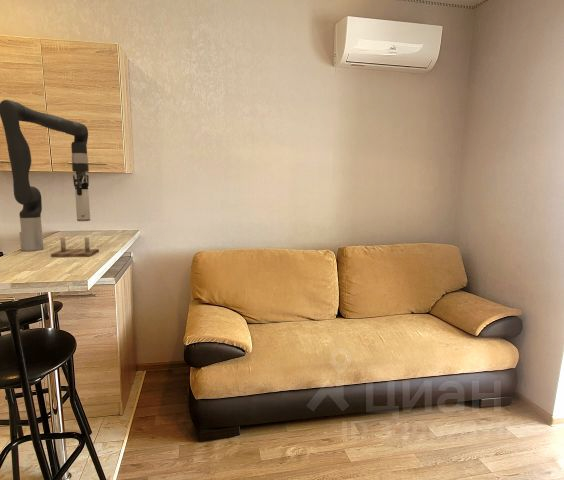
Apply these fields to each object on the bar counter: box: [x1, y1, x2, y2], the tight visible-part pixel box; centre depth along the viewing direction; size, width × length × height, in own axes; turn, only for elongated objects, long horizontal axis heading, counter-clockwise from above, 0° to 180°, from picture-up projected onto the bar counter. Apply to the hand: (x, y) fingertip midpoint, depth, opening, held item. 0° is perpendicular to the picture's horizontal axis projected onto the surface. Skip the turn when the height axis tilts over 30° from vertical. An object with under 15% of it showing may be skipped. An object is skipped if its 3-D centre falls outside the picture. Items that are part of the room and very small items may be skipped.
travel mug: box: [74, 183, 91, 222], centre depth 197 cm, size 6×7×20 cm
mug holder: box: [50, 236, 100, 258], centre depth 188 cm, size 18×12×8 cm, turn 97°
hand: (82, 194), depth 196 cm, fingers closed on travel mug, 6 cm apart
